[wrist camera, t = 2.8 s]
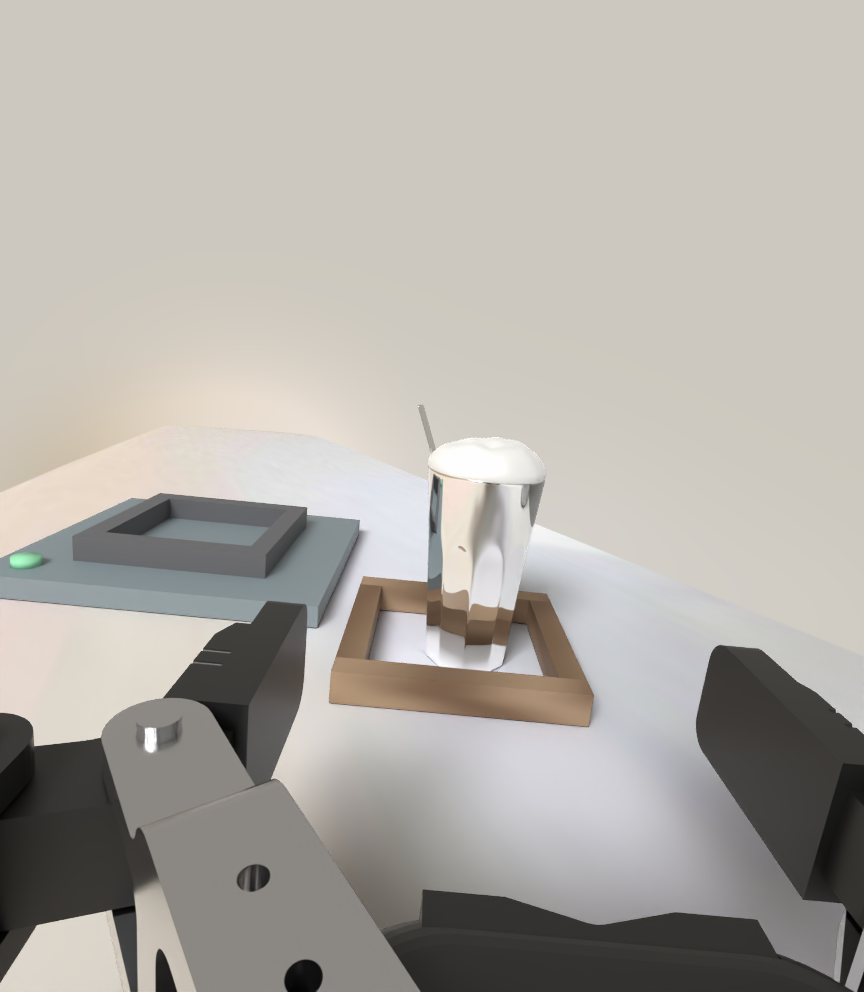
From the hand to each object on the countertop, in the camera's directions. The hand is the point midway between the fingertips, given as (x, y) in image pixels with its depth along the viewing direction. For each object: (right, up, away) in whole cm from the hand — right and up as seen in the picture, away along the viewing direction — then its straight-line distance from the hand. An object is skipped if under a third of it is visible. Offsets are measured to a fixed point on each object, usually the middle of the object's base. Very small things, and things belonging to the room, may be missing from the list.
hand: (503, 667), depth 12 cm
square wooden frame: (0, -3, +13) cm, 14 cm away
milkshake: (0, -3, +13) cm, 14 cm away
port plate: (-14, 0, +21) cm, 25 cm away
